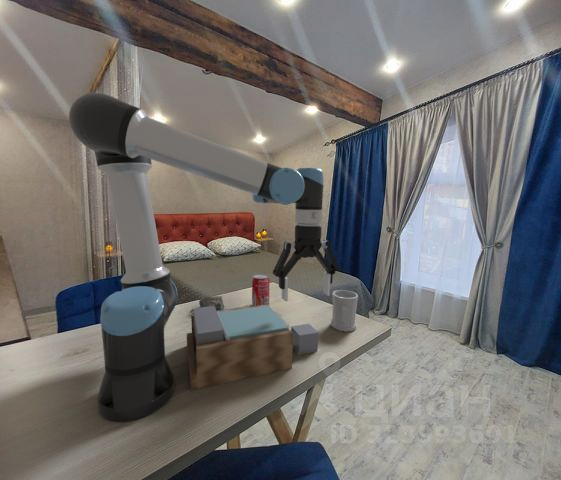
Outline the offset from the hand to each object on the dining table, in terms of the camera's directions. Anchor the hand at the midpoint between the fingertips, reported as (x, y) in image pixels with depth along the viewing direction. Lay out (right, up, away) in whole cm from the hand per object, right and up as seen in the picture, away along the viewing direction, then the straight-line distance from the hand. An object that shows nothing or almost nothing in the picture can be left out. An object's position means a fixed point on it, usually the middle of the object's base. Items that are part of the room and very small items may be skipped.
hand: (306, 296), depth 80 cm
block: (0, -16, +2) cm, 16 cm away
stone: (-11, -14, +18) cm, 25 cm away
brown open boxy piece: (-20, -16, -3) cm, 26 cm away
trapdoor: (-19, -9, -4) cm, 22 cm away
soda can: (-16, -11, +34) cm, 39 cm away
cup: (+15, -14, +16) cm, 26 cm away
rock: (-34, -12, +29) cm, 46 cm away
